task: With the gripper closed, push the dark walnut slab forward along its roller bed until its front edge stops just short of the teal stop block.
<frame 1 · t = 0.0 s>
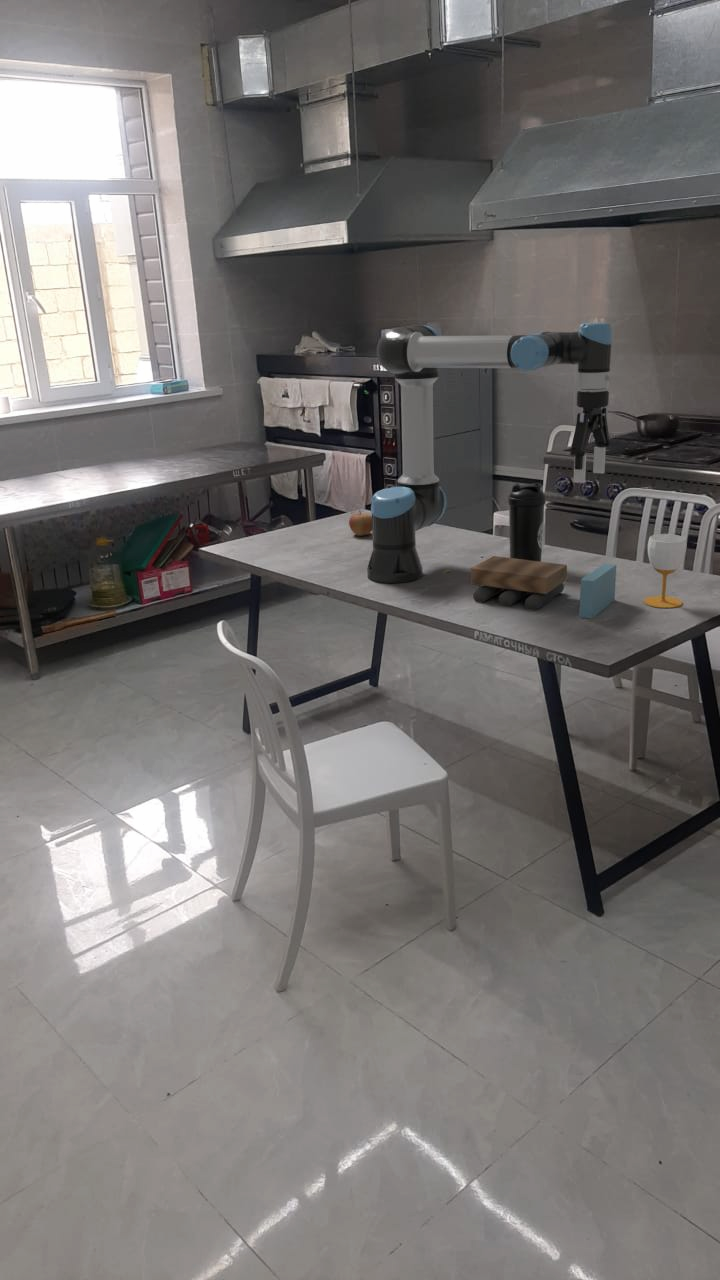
hand: (589, 477, 240), 28 cm above the table, fingers open, 13 cm apart
roller mid: (518, 597, 243), on the table
stop block: (597, 608, 232), on the table
slab: (518, 574, 241), point 6 cm above the table, slide at 0.0 cm
cup: (662, 603, 234), on the table
apple: (361, 535, 311), on the table
roller rear: (493, 594, 246), on the table
water bottle: (525, 566, 269), on the table
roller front: (544, 601, 239), on the table
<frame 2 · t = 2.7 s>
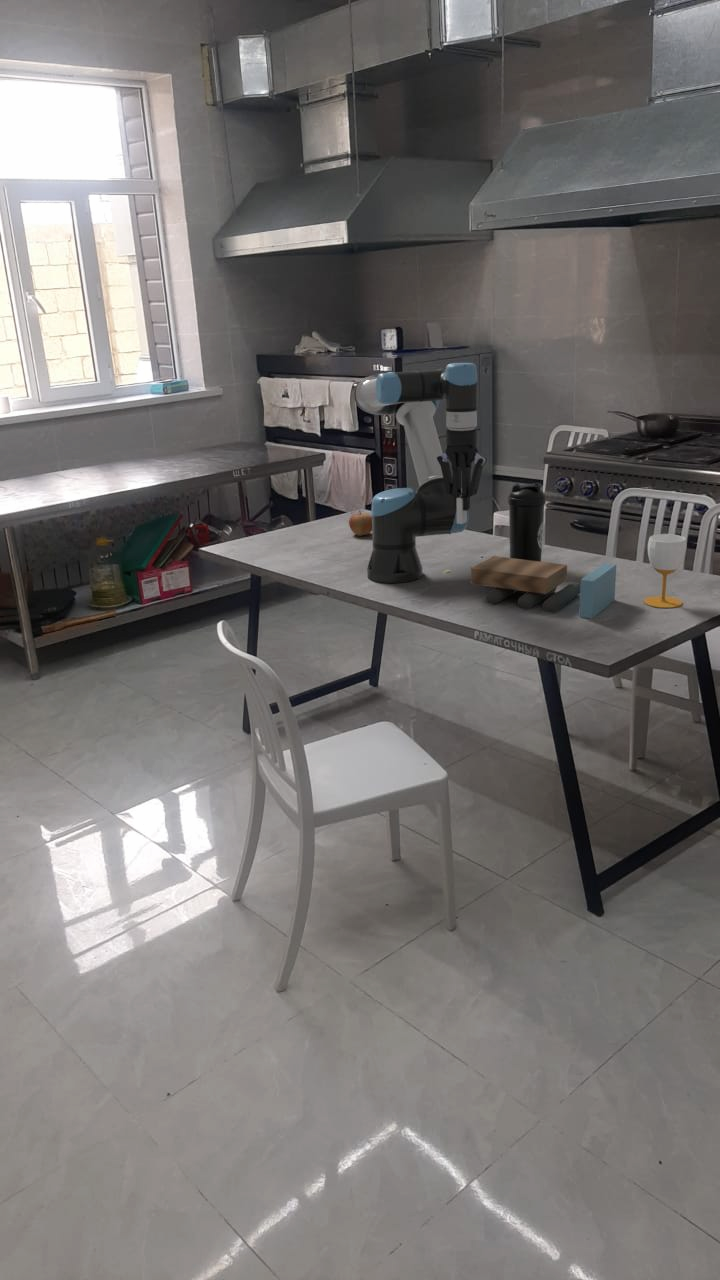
hand: (461, 522, 245), 18 cm above the table, fingers closed
roller mid: (538, 587, 239), point 3 cm above the table, tilted 175°
roller rear: (500, 584, 244), point 3 cm above the table, tilted 126°
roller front: (561, 590, 236), point 3 cm above the table, tilted 167°
everything else where it was.
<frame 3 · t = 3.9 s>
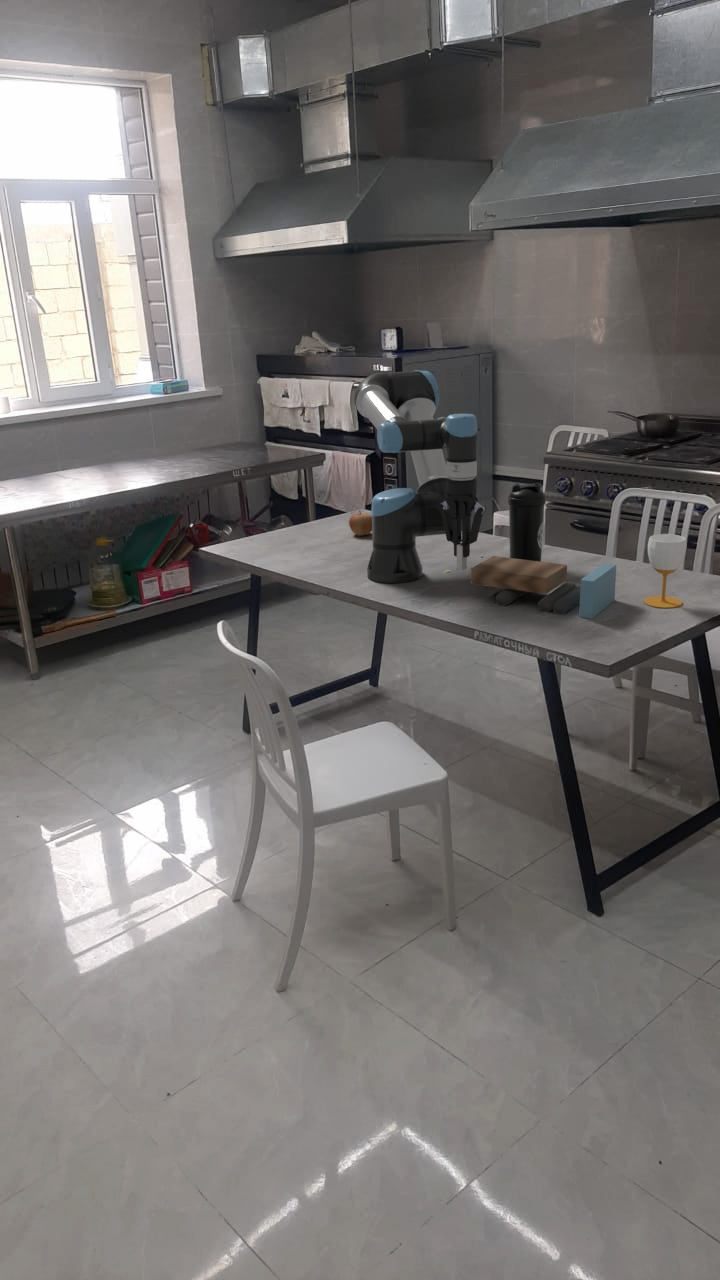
hand: (461, 568, 249), 5 cm above the table, fingers closed
roller mid: (556, 603, 237), on the table, tilted 10°
roller rear: (520, 586, 241), point 3 cm above the table, tilted 136°
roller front: (578, 597, 234), point 2 cm above the table, tilted 111°
everything else where it was.
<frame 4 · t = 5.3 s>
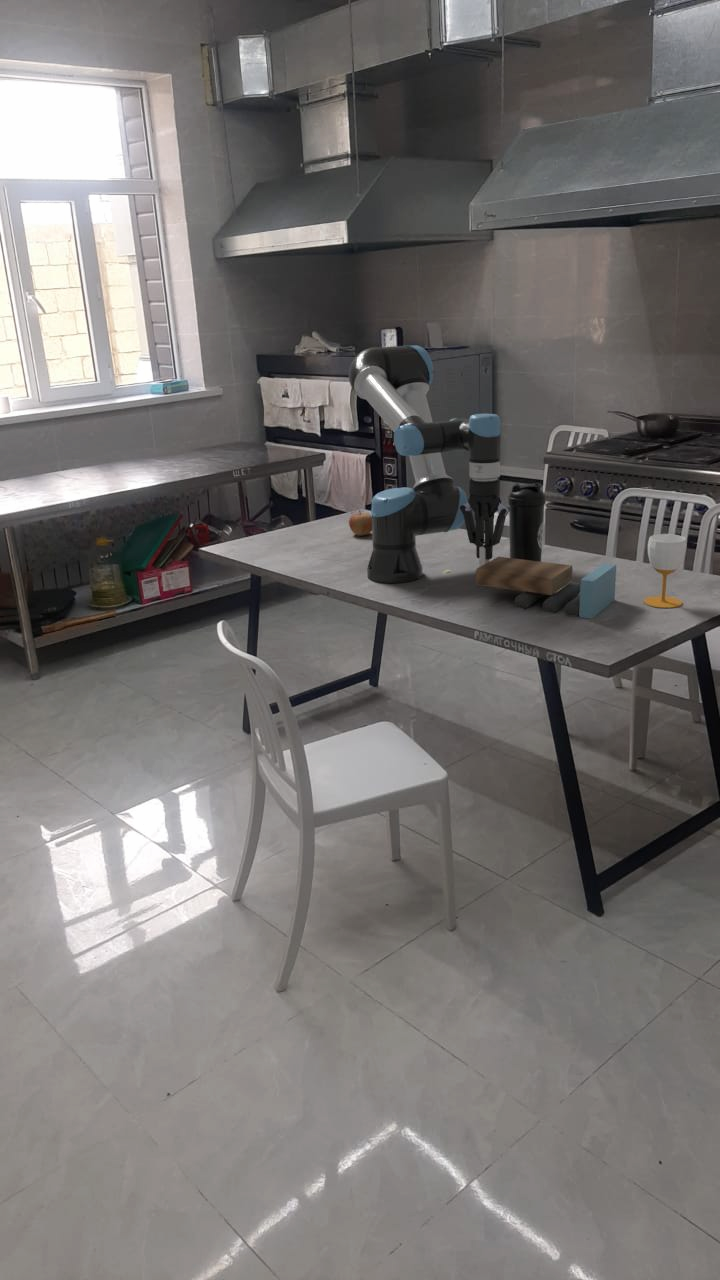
hand: (484, 571, 245), 6 cm above the table, fingers closed
roller mid: (556, 600, 237), on the table, tilted 51°
slab: (524, 574, 240), point 6 cm above the table, slide at 1.4 cm, touching gripper
roller rear: (530, 597, 241), on the table, tilted 41°
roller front: (583, 607, 234), on the table
everything else where it was.
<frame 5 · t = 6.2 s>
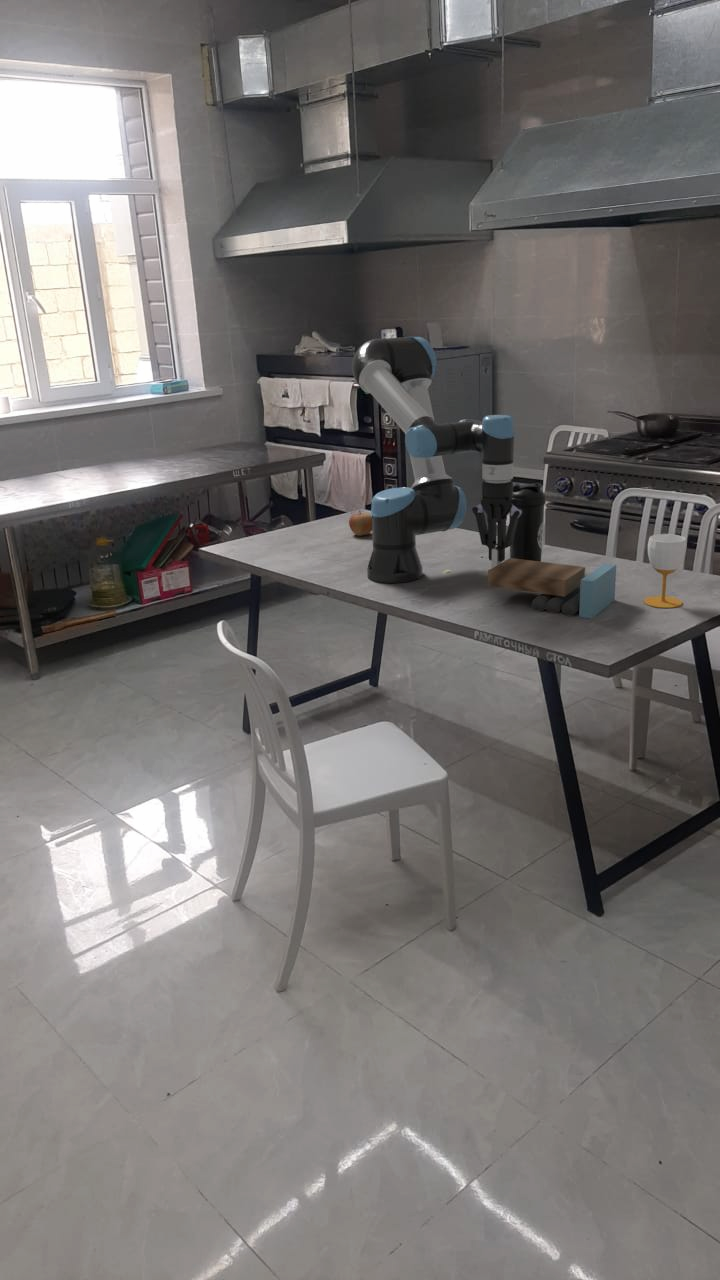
hand: (496, 573, 244), 5 cm above the table, fingers closed
roller mid: (558, 598, 237), point 1 cm above the table, tilted 76°
slab: (536, 576, 238), point 6 cm above the table, slide at 4.7 cm, touching gripper
roller rear: (554, 589, 237), point 3 cm above the table, tilted 157°
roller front: (582, 606, 234), on the table, tilted 20°
everything else where it was.
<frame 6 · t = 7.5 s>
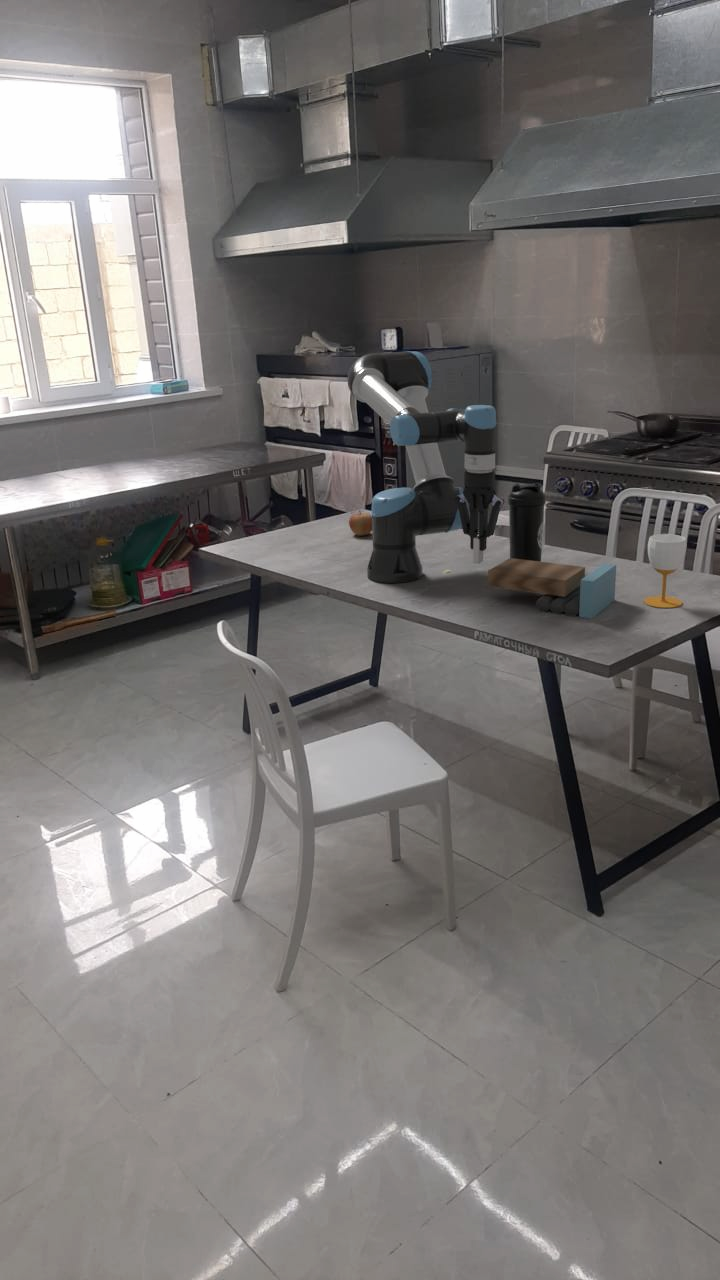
hand: (478, 562, 246), 8 cm above the table, fingers closed
roller mid: (562, 594, 236), point 2 cm above the table, tilted 112°
slab: (536, 576, 238), point 6 cm above the table, slide at 4.7 cm
roller rear: (561, 593, 236), point 2 cm above the table, tilted 122°
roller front: (582, 607, 234), on the table
everything else where it was.
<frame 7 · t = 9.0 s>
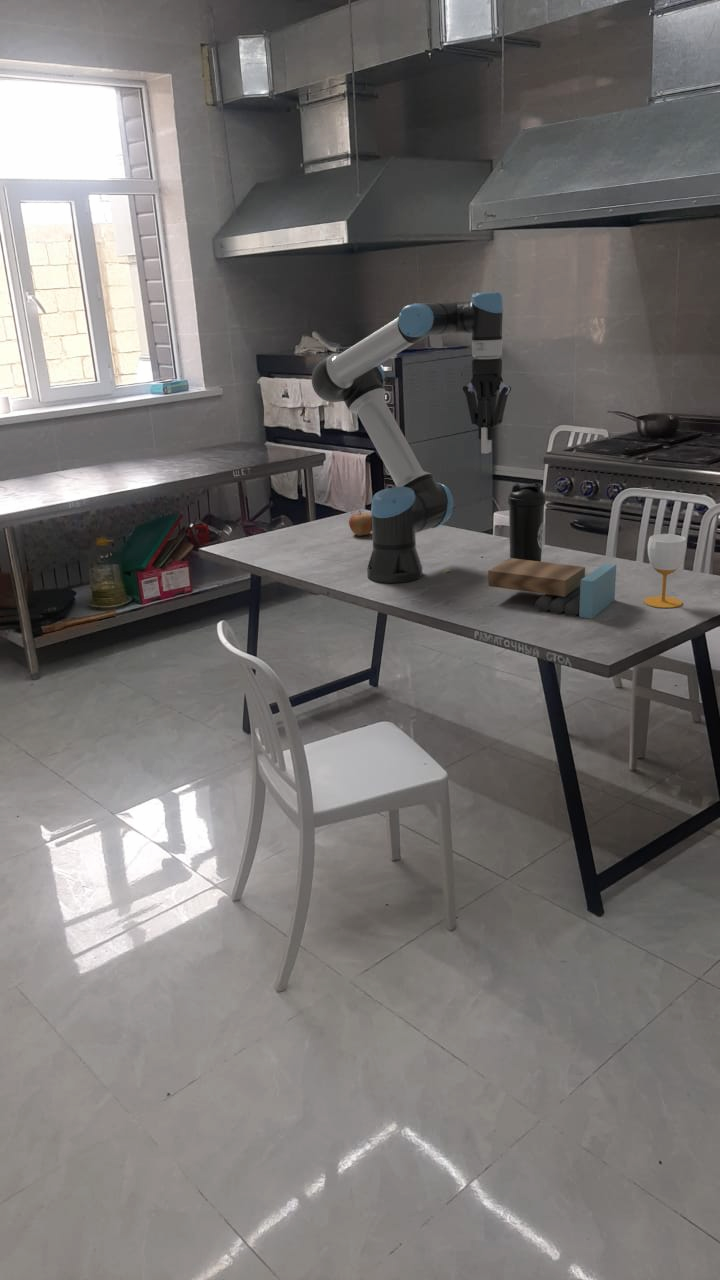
hand: (486, 452, 249), 33 cm above the table, fingers closed
nothing on the table moved.
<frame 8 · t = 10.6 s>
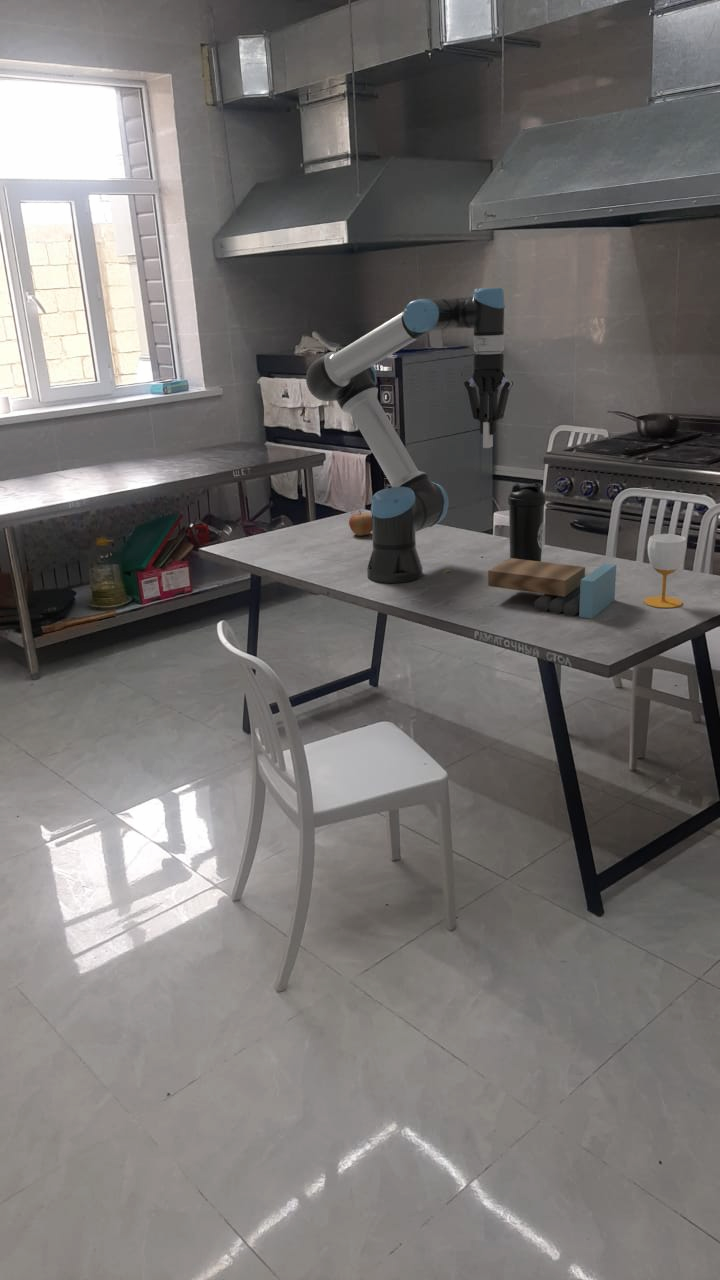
hand: (487, 447, 251), 34 cm above the table, fingers closed
roller mid: (561, 596, 236), point 2 cm above the table, tilted 100°
roller rear: (559, 592, 236), point 3 cm above the table, tilted 133°
everything else where it was.
at the end: slab slide at 4.7 cm; slab 2.3 cm from the target spot, point 5.9 cm above the table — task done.
